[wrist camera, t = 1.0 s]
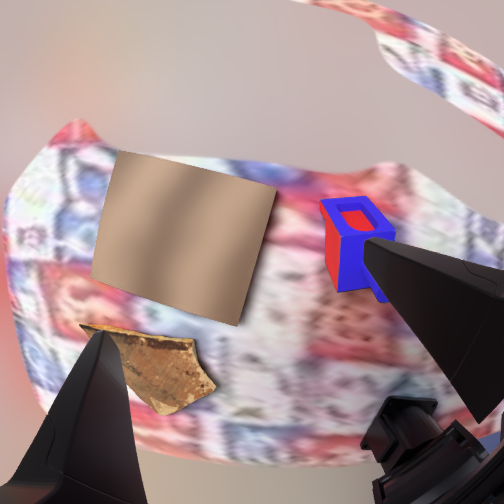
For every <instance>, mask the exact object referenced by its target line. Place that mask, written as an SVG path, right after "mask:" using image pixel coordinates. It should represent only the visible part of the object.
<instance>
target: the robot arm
mask: <svg viewBox="0 0 504 504" xmlns="http://www.w3.org/2000/svg"><path fill="white" fill-rule="evenodd" d="M363 263H364V265H365V267H366V268H367V270H368V271H369V273H370V274H371V276H372V277H373V279H374V280H375V282H376V283H377V285H378V286H379V288H380V289H381V291H382V292H383V294H384V295H385V297H386V298H387V299H388V301H389V302H390V303H391V304H392V306H393V307H394V308H395V309H396V311H397V312H398V313H399V314H400V316H401V317H402V318H403V319H404V321H405V322H406V323H407V324H408V326H409V327H410V328H411V330H412V331H413V332H414V333H415V335H416V336H417V337H418V339H419V340H420V341H421V343H422V344H423V345H424V347H425V348H426V349H427V351H428V352H429V353H430V355H431V356H432V357H433V359H434V360H435V361H436V363H437V364H438V366H439V367H440V368H441V370H442V371H443V373H444V374H445V375H446V377H447V378H448V380H449V381H450V383H451V384H452V386H453V387H454V388H455V390H456V391H457V393H458V394H459V396H460V397H461V399H462V400H463V402H464V403H465V405H466V406H467V408H468V409H469V411H470V412H471V414H472V415H473V417H474V419H475V420H476V421H477V423H478V424H480V423H481V422H482V421H483V420H484V419H485V418H486V417H487V416H488V415H489V414H490V413H491V412H492V411H493V410H494V409H495V408H496V407H497V405H498V404H499V403H500V402H501V401H502V400H503V399H504V270H500V269H496V268H491V267H487V266H483V265H479V264H476V263H472V262H468V261H465V260H460V259H458V258H454V257H451V256H447V255H443V254H440V253H436V252H432V251H429V250H425V249H421V248H417V247H414V246H410V245H406V244H402V243H398V242H394V241H390V240H386V239H382V238H378V237H372V238H369V239H366V240H365V241H364V246H363ZM390 401H391V402H390ZM389 402H390V403H389ZM437 405H438V402H437V401H436V400H435V399H421V398H408V397H397V396H390V397H388V398H387V399H386V400H385V402H384V404H383V406H382V407H381V409H380V411H379V413H378V415H377V416H376V418H375V419H374V421H373V423H372V425H371V426H370V428H369V430H368V431H367V433H366V435H365V437H364V438H363V440H362V442H361V443H360V447H361V449H362V450H372V452H373V454H374V457H375V459H376V461H377V463H381V466H382V468H383V470H384V472H385V475H384V476H382V477H380V478H379V479H376V480H374V481H372V484H373V495H374V500H375V504H504V412H503V413H502V418H501V438H500V444H499V445H498V446H497V447H496V448H495V449H494V450H493V451H492V452H491V453H490V454H488V452H487V451H486V450H485V448H484V447H483V446H482V445H481V443H480V442H479V441H478V440H477V439H476V438H475V437H474V436H473V435H472V434H471V433H470V432H469V431H468V430H467V429H465V428H464V427H463V426H462V425H461V424H460V423H459V422H458V421H457V420H456V419H455V420H454V421H453V422H452V423H451V425H450V426H449V427H448V428H447V429H445V430H443V429H442V428H441V427H440V426H439V424H438V423H437V422H436V421H435V419H434V418H433V417H432V416H431V415H432V414H433V412H434V410H435V408H436V407H437ZM0 504H148V503H147V499H146V495H145V491H144V486H143V482H142V477H141V473H140V468H139V463H138V458H137V453H136V446H135V440H134V434H133V428H132V421H131V413H130V405H129V397H128V391H127V386H126V381H125V376H124V371H123V366H122V361H121V356H120V351H119V348H118V346H117V345H116V343H115V342H114V340H113V339H112V337H111V336H110V334H109V333H108V332H107V331H106V330H101V331H97V332H95V333H94V334H93V335H92V337H91V338H90V340H89V341H88V343H87V345H86V346H85V348H84V350H83V351H82V353H81V355H80V356H79V358H78V360H77V361H76V363H75V365H74V366H73V368H72V370H71V372H70V373H69V375H68V377H67V379H66V380H65V382H64V384H63V386H62V387H61V389H60V391H59V393H58V395H57V397H56V398H55V400H54V402H53V404H52V406H51V408H50V410H49V412H48V415H46V417H45V419H44V421H43V423H42V425H41V427H40V429H39V431H38V433H37V435H36V436H35V438H34V440H33V442H32V444H31V445H30V447H29V449H28V450H27V452H26V454H25V456H24V457H23V459H22V461H21V463H20V465H19V466H18V468H17V470H16V472H15V473H14V475H13V477H12V478H11V479H10V480H9V481H8V482H7V483H6V484H4V485H2V486H0Z"/></svg>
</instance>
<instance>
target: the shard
mask: <svg viewBox="0 0 504 504" xmlns="http://www.w3.org/2000/svg"><path fill="white" fill-rule="evenodd" d="M79 326H80V327H81V328H82V329H83V330H84V331H85V332H86V334H87V336H88V337H89V338H91V337H92V335H93V334H94V333H95V332H97V331H101V330H106V331H107V332H108V333H109V334H110V336H111V337H112V339H113V340H114V342H115V343H116V345H117V346H118V348H119V351H120V356H121V361H122V366H123V371H124V376H125V381H126V384H127V385H128V386H129V387H130V388H131V389H132V390H133V391H134V392H135V394H136V395H137V396H138V397H139V398H140V399H142V400H143V401H144V402H145V403H146V404H148V405H149V406H150V407H151V408H152V409H153V410H154V411H155V412H156V413H157V414H159V415H162V416H164V415H168V414H171V413H175V412H177V411H178V410H180V409H182V408H184V407H185V406H186V405H188V404H190V403H192V402H194V401H195V400H197V399H199V398H201V397H203V396H206V395H208V394H210V393H211V392H213V391H214V389H215V388H216V385H215V384H214V383H213V381H212V380H211V379H210V378H209V377H208V376H207V375H206V373H205V372H204V371H203V370H202V368H201V367H200V366H199V362H198V360H197V353H196V348H195V342H194V340H193V339H190V338H169V337H164V336H150V335H146V334H143V333H140V332H135V331H131V330H126V329H123V328H117V327H113V326H108V325H97V324H92V325H87V324H79Z"/></svg>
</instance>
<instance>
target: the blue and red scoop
mask: <svg viewBox="0 0 504 504" xmlns="http://www.w3.org/2000/svg"><path fill="white" fill-rule="evenodd" d="M320 211H321V213H322V215H323V217H324V219H325V221H326V239H325V263H326V266H327V268H328V271H329V273H330V276H331V279H332V281H333V284H334V286H335V289H336V292H337V293H339V292H346V291H352V290H359V289H365V288H371V289H372V291H373V293H374V295H375V297H376V299H377V300H378V301H379V302H380V303H388V302H389V301H388V299H387V298H386V297H385V295H384V294H383V292H382V291H381V289H380V288H379V286H378V285H377V283H376V282H375V280H374V279H373V277H372V276H371V274H370V273H369V271H368V270H367V268H366V267H365V265H364V263H363V246H364V241H365V240H366V239H369V238H372V237H378V238H382V239H386V240H390V241H394V242H395V235H396V230H395V229H394V227H393V226H392V225H391V224H390V223H389V221H388V220H387V219H386V218H385V217H384V216H383V214H382V213H381V212H380V211H379V210H378V209H377V208H376V206H375V205H374V204H373V203H372V202H371V201H370V200H369V199H368V198H367V196H356V197H344V198H332V199H321V200H320Z"/></svg>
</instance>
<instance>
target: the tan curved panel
mask: <svg viewBox="0 0 504 504" xmlns="http://www.w3.org/2000/svg"><path fill="white" fill-rule="evenodd" d="M276 191H277V188H274V187H271V186H267V185H264V184H260V183H257V182H253V181H249V180H246V179H242V178H238V177H235V176H231V175H227V174H223V173H219V172H215V171H211V170H207V169H203V168H199V167H195V166H191V165H186V164H182V163H178V162H173V161H169V160H164V159H160V158H155V157H151V156H146V155H141V154H136V153H131V152H126V151H121V150H119V152H118V155H117V159H116V162H115V165H114V169H113V172H112V176H111V180H110V183H109V187H108V191H107V195H106V199H105V203H104V207H103V211H102V216H101V220H100V225H99V230H98V235H97V240H96V245H95V250H94V256H93V262H92V268H91V275H90V278H92V279H94V280H97V281H100V282H102V283H105V284H108V285H110V286H113V287H116V288H118V289H121V290H124V291H127V292H129V293H132V294H135V295H138V296H141V297H144V298H146V299H149V300H152V301H155V302H158V303H161V304H164V305H167V306H170V307H173V308H176V309H180V310H183V311H186V312H189V313H192V314H196V315H199V316H202V317H205V318H209V319H212V320H215V321H219V322H222V323H226V324H229V325H233V326H236V327H237V326H238V322H239V319H240V315H241V312H242V308H243V305H244V302H245V298H246V295H247V291H248V288H249V284H250V281H251V278H252V274H253V271H254V267H255V264H256V260H257V257H258V253H259V250H260V246H261V243H262V239H263V236H264V232H265V229H266V226H267V222H268V219H269V215H270V212H271V208H272V205H273V201H274V198H275V194H276Z"/></svg>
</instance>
